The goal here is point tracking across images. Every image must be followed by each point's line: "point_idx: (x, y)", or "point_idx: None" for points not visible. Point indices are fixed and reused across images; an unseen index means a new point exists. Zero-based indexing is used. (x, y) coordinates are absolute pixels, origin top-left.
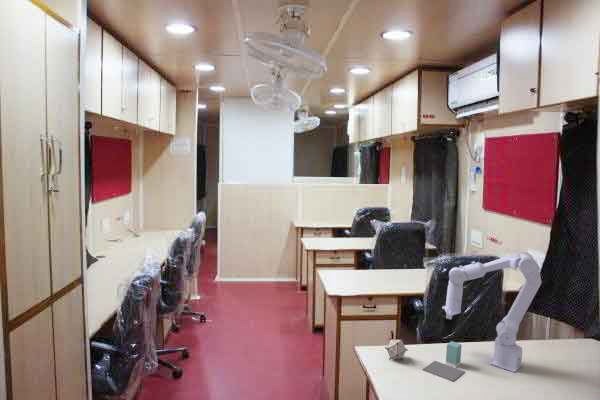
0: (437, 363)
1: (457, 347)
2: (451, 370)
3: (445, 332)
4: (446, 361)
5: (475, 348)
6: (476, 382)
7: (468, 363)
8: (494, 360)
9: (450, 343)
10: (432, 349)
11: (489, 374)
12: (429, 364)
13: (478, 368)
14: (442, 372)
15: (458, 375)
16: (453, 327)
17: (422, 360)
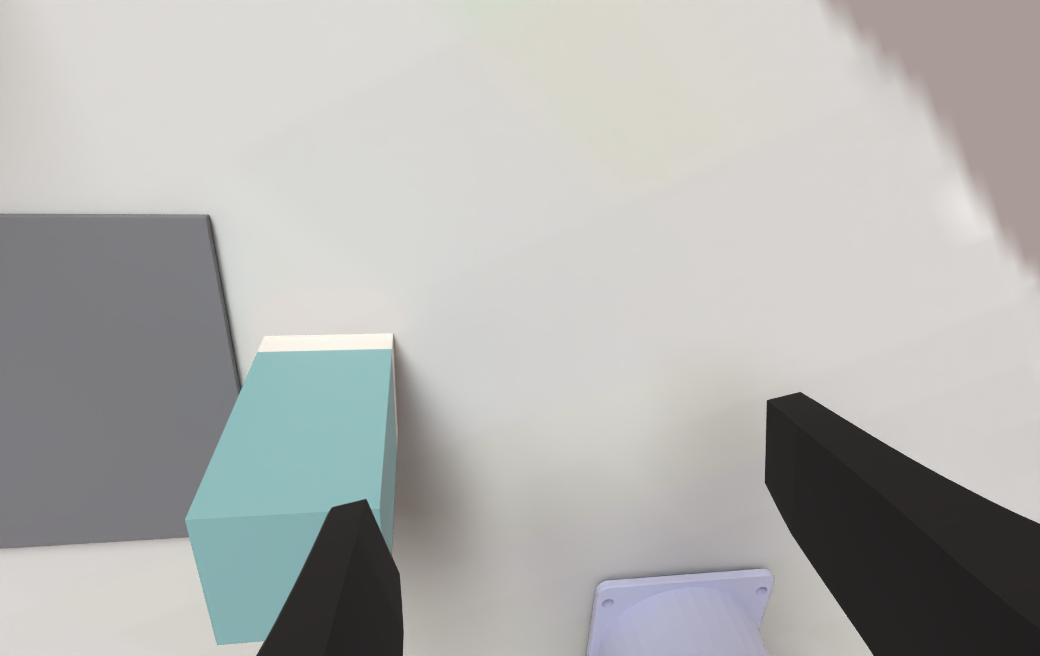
0: (160, 279)
1: (237, 636)
2: (153, 452)
3: (321, 529)
4: (259, 360)
5: (887, 380)
6: (171, 643)
7: (479, 472)
8: (635, 626)
9: (265, 539)
10: (546, 7)
11: (406, 640)
12: (28, 220)
13: (446, 559)
14: (9, 415)
15: (119, 533)
16: (774, 481)
17: (67, 68)
